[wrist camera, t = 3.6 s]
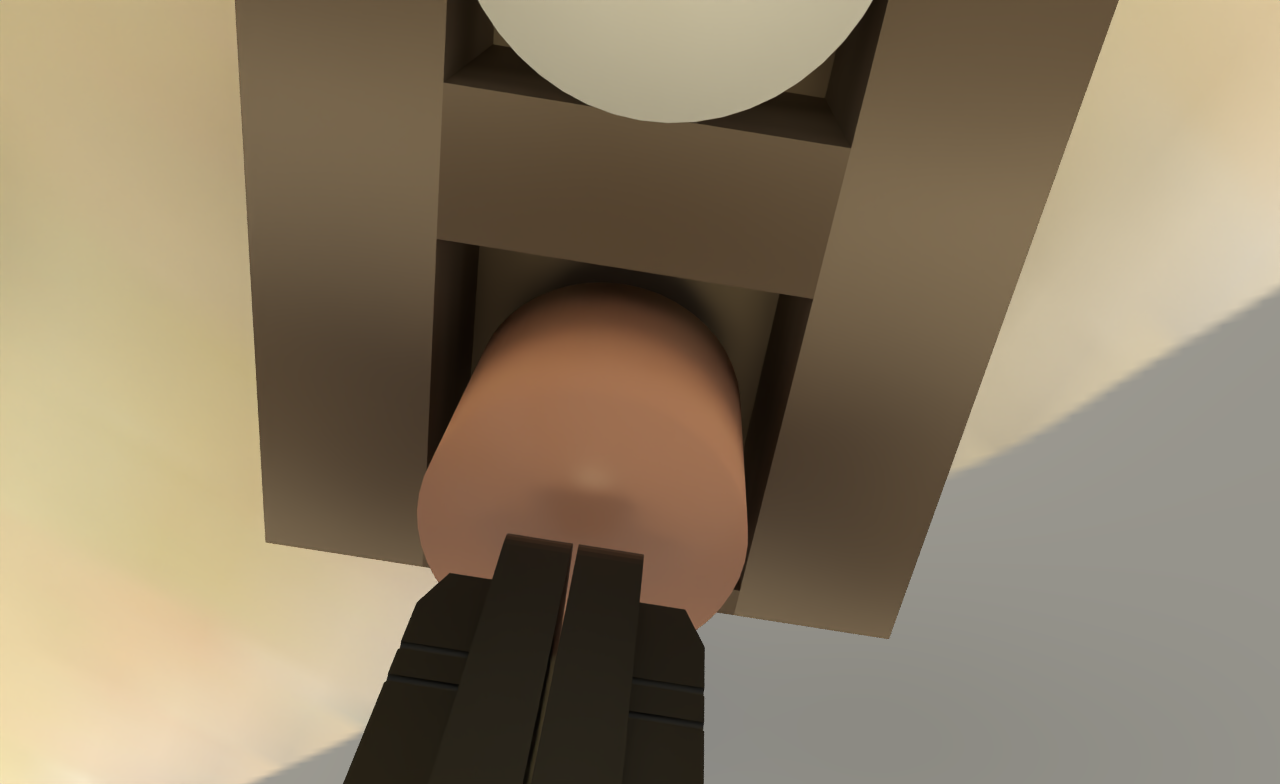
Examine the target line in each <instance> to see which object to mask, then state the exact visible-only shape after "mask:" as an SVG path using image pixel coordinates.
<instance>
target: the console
mask: <svg viewBox="0 0 1280 784" xmlns="http://www.w3.org/2000/svg"><path fill="white" fill-rule="evenodd" d="M1118 1H1119V0H873V1H872V2H871V4H870V6H869V7H868V9H867V11H866V12H865V14H864V16H863V17H862V18H861V20H860V21H859V22H858V24H857V25H856V26H855V28H854V29H853V30H852V31H851V33H850V34H849V35H848V37H847V38H846V39H845V41H844V42H843V43H842V44H841V45H840V46H839V47H838V48H837V49H836V50H835V51H834V52H833V53H832V54H831V55H830V56H829V57H828V58H827V59H826V60H825V61H824V62H823V63H822V64H821V65H820V66H818V67H817V68H816V69H815V70H814V71H812V72H811V73H810V74H809V75H807V76H806V77H805V78H804V79H802V80H801V81H800V82H798V83H797V84H795V85H794V86H792V87H790V88H789V89H787V90H785V91H784V92H782V93H781V94H779V95H777V96H776V97H774V98H772V99H770V100H767V101H765V102H763V103H761V104H759V105H757V106H754V107H752V108H750V109H747V110H744V111H741V112H737V113H734V114H731V115H728V116H725V117H721V118H715V119H709V120H703V121H697V122H679V123H663V122H652V121H642V120H637V119H632V118H628V117H624V116H619V115H615V114H612V113H609V112H606V111H604V110H601V109H598V108H596V107H593V106H590V105H588V104H586V103H584V102H582V101H580V100H578V99H576V98H575V97H573V96H571V95H569V94H567V93H565V92H563V91H562V90H560V89H559V88H558V87H556V86H555V85H553V84H552V83H550V82H549V81H548V80H546V79H545V78H543V77H542V76H541V75H539V74H538V73H537V72H536V71H535V70H534V69H533V68H532V67H530V66H529V65H528V64H527V63H526V62H525V61H524V60H523V59H522V58H521V57H519V56H518V55H517V53H516V52H515V51H514V50H513V49H512V48H511V46H510V45H509V44H508V43H507V42H506V41H505V39H504V38H503V37H502V36H501V35H500V34H499V32H498V31H497V29H496V28H495V26H494V25H493V23H492V22H491V21H490V19H489V18H488V16H487V15H486V13H485V12H484V10H483V9H482V7H481V5H480V3H479V1H478V0H235V9H236V27H237V44H238V62H239V80H240V97H241V115H242V133H243V150H244V168H245V186H246V204H247V221H248V239H249V257H250V274H251V292H252V310H253V327H254V345H255V363H256V380H257V398H258V416H259V433H260V451H261V469H262V486H263V504H264V522H265V540H266V542H267V543H273V544H280V545H286V546H293V547H299V548H306V549H312V550H318V551H325V552H331V553H338V554H344V555H351V556H357V557H364V558H370V559H376V560H383V561H389V562H396V563H402V564H409V565H415V566H421V567H428V568H430V567H429V565H428V563H427V560H426V557H425V555H424V552H423V549H422V546H421V542H420V537H419V532H418V523H417V506H418V498H419V492H420V488H421V485H422V481H423V478H424V475H425V473H426V471H427V469H428V467H429V465H430V462H431V460H432V458H433V456H434V454H435V452H436V450H437V448H438V446H439V444H440V442H441V439H442V437H443V435H444V433H445V431H446V429H447V427H448V425H449V423H450V421H451V418H452V416H453V414H454V412H455V410H456V408H457V406H458V404H459V402H460V400H461V398H462V395H463V393H464V391H465V389H466V387H467V385H468V383H469V381H470V379H471V377H472V374H473V372H474V370H475V368H476V366H477V364H478V362H479V360H480V358H481V356H482V354H483V351H484V349H485V347H486V345H487V343H488V341H489V340H490V338H491V337H492V335H493V334H494V333H495V331H496V330H497V328H498V327H499V326H500V325H501V324H502V323H503V322H504V321H505V320H506V319H507V317H509V316H510V315H511V314H512V313H513V312H515V311H516V310H517V309H518V308H520V307H521V306H522V305H524V304H526V303H527V302H529V301H531V300H532V299H534V298H536V297H538V296H540V295H543V294H545V293H547V292H550V291H552V290H555V289H559V288H562V287H566V286H569V285H576V284H583V283H598V282H608V283H618V284H626V285H631V286H635V287H640V288H644V289H646V290H649V291H652V292H655V293H658V294H660V295H662V296H664V297H666V298H668V299H670V300H672V301H674V302H676V303H678V304H679V305H681V306H682V307H684V308H685V309H687V310H688V311H690V312H691V313H693V314H694V315H695V316H696V317H697V318H698V319H700V320H701V321H702V322H703V323H704V324H705V325H706V326H707V327H708V328H709V329H710V330H711V332H712V333H713V334H714V335H715V336H716V337H717V339H718V340H719V342H720V343H721V345H722V346H723V348H724V349H725V351H726V353H727V355H728V357H729V359H730V361H731V363H732V365H733V368H734V371H735V374H736V378H737V381H738V387H739V393H740V403H741V420H742V437H743V455H744V472H745V489H746V506H747V523H748V546H747V552H746V558H745V563H744V566H743V569H742V572H741V575H740V578H739V580H738V582H737V584H736V585H735V587H734V589H733V591H732V593H731V595H730V596H729V597H728V599H727V600H726V601H725V603H724V604H723V606H722V607H721V608H720V609H719V610H718V611H717V612H718V613H724V614H731V615H737V616H743V617H750V618H756V619H763V620H769V621H776V622H782V623H788V624H795V625H802V626H808V627H815V628H821V629H827V630H834V631H840V632H847V633H853V634H859V635H866V636H872V637H879V638H885V639H889V637H890V634H891V631H892V629H893V626H894V623H895V620H896V618H897V615H898V612H899V609H900V607H901V604H902V601H903V598H904V595H905V593H906V590H907V587H908V584H909V581H910V579H911V576H912V573H913V570H914V568H915V565H916V562H917V559H918V556H919V554H920V551H921V548H922V545H923V543H924V540H925V537H926V534H927V532H928V529H929V526H930V523H931V520H932V518H933V515H934V511H935V509H936V506H937V504H938V501H939V498H940V495H941V492H942V490H943V487H944V484H945V481H946V479H947V476H948V473H949V470H950V468H951V465H952V462H953V459H954V457H955V454H956V451H957V448H958V445H959V443H960V440H961V437H962V434H963V431H964V429H965V426H966V423H967V420H968V418H969V415H970V412H971V409H972V406H973V404H974V401H975V398H976V395H977V393H978V390H979V387H980V384H981V381H982V379H983V376H984V373H985V370H986V368H987V365H988V362H989V359H990V356H991V354H992V351H993V348H994V345H995V343H996V340H997V337H998V334H999V331H1000V329H1001V326H1002V323H1003V320H1004V318H1005V315H1006V312H1007V309H1008V306H1009V304H1010V301H1011V298H1012V295H1013V293H1014V290H1015V287H1016V284H1017V281H1018V279H1019V276H1020V273H1021V270H1022V268H1023V265H1024V262H1025V259H1026V256H1027V254H1028V251H1029V248H1030V245H1031V242H1032V240H1033V237H1034V234H1035V231H1036V229H1037V226H1038V223H1039V220H1040V217H1041V215H1042V212H1043V209H1044V206H1045V204H1046V201H1047V198H1048V195H1049V192H1050V190H1051V187H1052V184H1053V181H1054V179H1055V176H1056V173H1057V170H1058V167H1059V165H1060V162H1061V159H1062V156H1063V154H1064V151H1065V148H1066V145H1067V142H1068V140H1069V137H1070V134H1071V131H1072V129H1073V126H1074V123H1075V120H1076V117H1077V115H1078V112H1079V109H1080V106H1081V104H1082V101H1083V98H1084V95H1085V92H1086V90H1087V87H1088V84H1089V81H1090V78H1091V76H1092V73H1093V70H1094V67H1095V65H1096V62H1097V59H1098V56H1099V53H1100V51H1101V48H1102V45H1103V42H1104V40H1105V37H1106V34H1107V31H1108V28H1109V26H1110V23H1111V20H1112V17H1113V15H1114V12H1115V9H1116V6H1117V3H1118Z"/></svg>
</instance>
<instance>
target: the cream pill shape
mask: <svg viewBox="0 0 1280 784" xmlns="http://www.w3.org/2000/svg"><path fill="white" fill-rule="evenodd" d="M478 1H479V3H480V5H481V7H482V9H483V10H484V12H485V13H486V15H487V16H488V18H489V19H490V21H491V22H492V23H493V25H494V26H495V28H496V29H497V31H498V32H499V34H500V35H501V36H502V37H503V38H504V39H505V41H506V42H507V43H508V44H509V45H510V46H511V48H512V49H513V50H514V51H515V52H516V53H517V55H518V56H519V57H521V58H522V59H523V60H524V61H525V62H526V63H527V64H528V65H529V66H530V67H532V68H533V69H534V70H535V71H536V72H537V73H538V74H539V75H541V76H542V77H543V78H545V79H546V80H548V81H549V82H550V83H552V84H553V85H555V86H556V87H558V88H559V89H560V90H562V91H563V92H565V93H567V94H569V95H571V96H573V97H575V98H576V99H578V100H580V101H582V102H584V103H586V104H588V105H590V106H593V107H596V108H598V109H601V110H604V111H606V112H609V113H612V114H615V115H619V116H624V117H628V118H632V119H637V120H642V121H652V122H663V123H679V122H697V121H703V120H709V119H715V118H721V117H725V116H728V115H731V114H734V113H737V112H741V111H744V110H747V109H750V108H752V107H754V106H757V105H759V104H761V103H763V102H765V101H767V100H770V99H772V98H774V97H776V96H777V95H779V94H781V93H782V92H784V91H785V90H787V89H789V88H790V87H792V86H794V85H795V84H797V83H798V82H800V81H801V80H802V79H804V78H805V77H806V76H807V75H809V74H810V73H811V72H812V71H814V70H815V69H816V68H817V67H818V66H820V65H821V64H822V63H823V62H824V61H825V60H826V59H827V58H828V57H829V56H830V55H831V54H832V53H833V52H834V51H835V50H836V49H837V48H838V47H839V46H840V45H841V44H842V43H843V42H844V41H845V39H846V38H847V37H848V35H849V34H850V33H851V31H852V30H853V29H854V28H855V26H856V25H857V24H858V22H859V21H860V20H861V18H862V17H863V16H864V14H865V12H866V11H867V9H868V7H869V6H870V4H871V2H872V1H873V0H478Z"/></svg>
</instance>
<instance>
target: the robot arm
mask: <svg viewBox="0 0 1280 784" xmlns="http://www.w3.org/2000/svg"><path fill="white" fill-rule="evenodd" d="M572 551H573V543H567V542H561V541H554V540H548V539H542V538H535V537H529V536H523V535H516V534H510V533H508V534H507V535H506V537H505V540H504V543H503V546H502V549H501V552H500V555H499V559H498V562H497V565H496V568H495V571H494V575H493V578H492V579H486V578H479V577H473V576H467V575H460V574H454V573H449V574H448V575H447V576H446V577H444V578H443V579H442V580H441V581H440V582H439V583H438V584H437V585H436V586H435V587H433V588H432V589H431V590H430V591H429V592H428V593H427V594H426V595H425V596H423V597H422V598H421V599H420V600H419V601H418V602H417V603H416V606H415V608H414V611H413V613H412V616H411V618H410V620H409V623H408V625H407V628H406V630H405V633H404V635H403V638H402V640H401V645H400V649H398V650H397V652H396V655H395V657H394V660H393V662H392V665H391V667H390V670H389V672H388V677H387V681H386V682H384V684H383V687H382V689H381V692H380V694H379V697H378V699H377V702H376V704H375V707H374V709H373V711H372V714H371V716H370V719H369V721H368V724H367V726H366V729H365V731H364V734H363V736H362V739H361V741H360V744H359V746H358V748H357V751H356V753H355V756H354V758H353V761H352V763H351V766H350V768H349V771H348V773H347V776H346V778H345V780H344V783H343V784H704V731H703V725H704V696H703V692H704V659H705V653H704V652H705V648H704V645H703V643H702V641H701V639H700V637H699V635H698V633H697V631H696V629H695V627H694V625H693V623H692V621H691V619H690V618H689V616H688V614H687V612H686V610H685V609H679V608H673V607H666V606H660V605H654V604H647V603H641V602H640V593H641V583H642V573H643V562H644V554H639V553H632V552H626V551H620V550H613V549H607V548H601V547H594V546H588V545H581V544H579V545H578V550H577V554H576V559H575V565H574V570H573V575H572V580H571V585H570V590H569V595H568V600H567V605H566V610H565V615H564V609H565V602H566V594H567V587H568V580H569V573H570V566H571V559H572ZM563 616H564V620H563ZM562 623H563V625H562Z"/></svg>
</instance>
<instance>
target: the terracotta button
mask: <svg viewBox="0 0 1280 784" xmlns="http://www.w3.org/2000/svg"><path fill="white" fill-rule="evenodd" d="M417 523H418V532H419V537H420V542H421V546H422V549H423V552H424V555H425V557H426V560H427V563H428V565H429V567H430V568H431V570H432V572H433V574H434V576H435V578H436V579H437V581H438V582H440V581H441V580H442V579H443V578H444V577H446V576H447V575H448V574H449V573H454V574H460V575H467V576H473V577H479V578H486V579H492V578H493V575H494V571H495V568H496V565H497V562H498V559H499V555H500V552H501V549H502V546H503V543H504V540H505V537H506V535H507V534H508V533H510V534H516V535H523V536H529V537H535V538H542V539H548V540H554V541H561V542H567V543H573V551H572V559H571V566H570V573H569V580H568V587H567V594H566V602H565V609H564V615H565V610H566V605H567V600H568V595H569V590H570V585H571V580H572V575H573V570H574V565H575V559H576V554H577V550H578V545H579V544H581V545H588V546H594V547H601V548H607V549H613V550H620V551H626V552H632V553H639V554H644V562H643V573H642V583H641V593H640V602H641V603H647V604H654V605H660V606H666V607H673V608H679V609H685V610H686V612H687V614H688V616H689V618H690V619H691V621H692V623H693V625H694V627H695V629H696V630H697V629H698V628H699V627H701V626H702V625H703V624H705V623H706V622H707V621H708V620H709V619H710V618H711V617H712V616H713V615H714V614H715V613H716V612H717V611H718V610H719V609H720V608H721V607H722V606H723V604H724V603H725V601H726V600H727V599H728V597H729V596H730V595H731V593H732V591H733V589H734V587H735V585H736V584H737V582H738V580H739V578H740V575H741V572H742V569H743V566H744V563H745V558H746V552H747V546H748V523H747V506H746V489H745V472H744V455H743V437H742V420H741V403H740V393H739V387H738V381H737V378H736V374H735V371H734V368H733V365H732V363H731V361H730V359H729V357H728V355H727V353H726V351H725V349H724V348H723V346H722V345H721V343H720V342H719V340H718V339H717V337H716V336H715V335H714V334H713V333H712V332H711V330H710V329H709V328H708V327H707V326H706V325H705V324H704V323H703V322H702V321H701V320H700V319H698V318H697V317H696V316H695V315H694V314H693V313H691V312H690V311H688V310H687V309H685V308H684V307H682V306H681V305H679V304H678V303H676V302H674V301H672V300H670V299H668V298H666V297H664V296H662V295H660V294H658V293H655V292H652V291H649V290H646V289H644V288H640V287H635V286H631V285H626V284H618V283H608V282H598V283H583V284H576V285H569V286H566V287H562V288H559V289H555V290H552V291H550V292H547V293H545V294H543V295H540V296H538V297H536V298H534V299H532V300H531V301H529V302H527V303H526V304H524V305H522V306H521V307H520V308H518V309H517V310H516V311H515V312H513V313H512V314H511V315H510V316H509V317H507V319H506V320H505V321H504V322H503V323H502V324H501V325H500V326H499V327H498V328H497V330H496V331H495V333H494V334H493V335H492V337H491V338H490V340H489V341H488V343H487V345H486V347H485V349H484V351H483V354H482V356H481V358H480V360H479V362H478V364H477V366H476V368H475V370H474V372H473V374H472V377H471V379H470V381H469V383H468V385H467V387H466V389H465V391H464V393H463V395H462V398H461V400H460V402H459V404H458V406H457V408H456V410H455V412H454V414H453V416H452V418H451V421H450V423H449V425H448V427H447V429H446V431H445V433H444V435H443V437H442V439H441V442H440V444H439V446H438V448H437V450H436V452H435V454H434V456H433V458H432V460H431V462H430V465H429V467H428V469H427V471H426V473H425V475H424V478H423V481H422V485H421V488H420V492H419V498H418V506H417ZM563 620H564V616H563ZM562 625H563V623H562Z"/></svg>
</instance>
